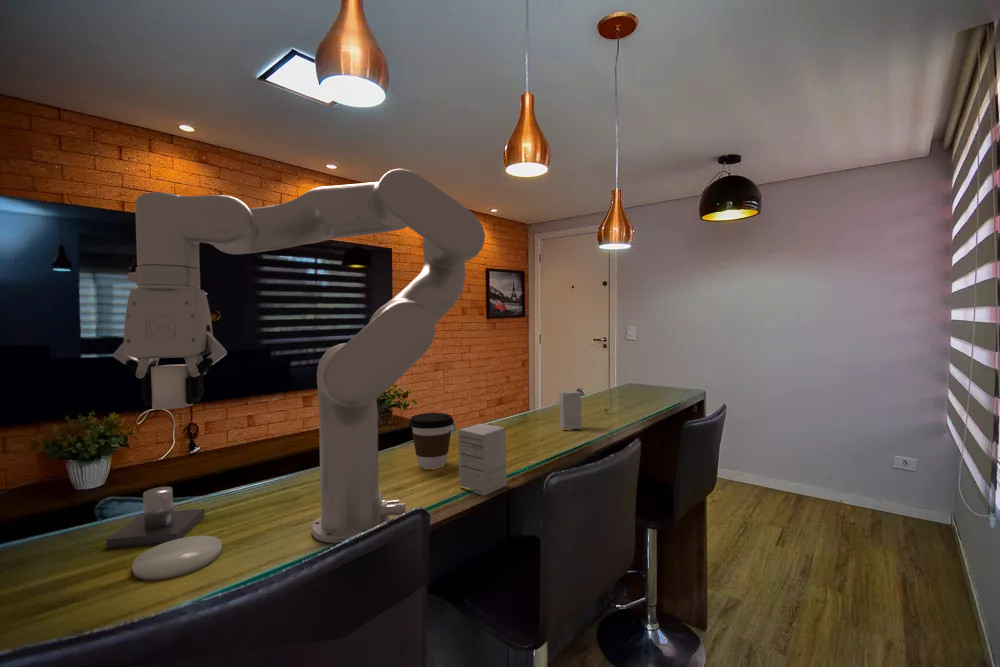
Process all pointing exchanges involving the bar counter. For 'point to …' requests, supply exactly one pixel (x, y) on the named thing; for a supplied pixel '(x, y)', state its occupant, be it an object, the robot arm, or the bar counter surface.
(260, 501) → the bar counter surface
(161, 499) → the square base with cylinder
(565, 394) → the skincare box
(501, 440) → the supplement box
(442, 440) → the coffee cup
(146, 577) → the white domed disc
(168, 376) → the cap
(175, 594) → the bar counter surface
